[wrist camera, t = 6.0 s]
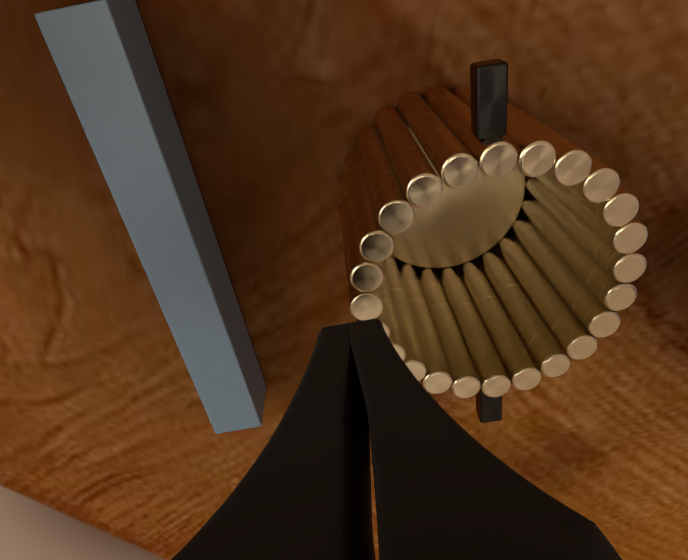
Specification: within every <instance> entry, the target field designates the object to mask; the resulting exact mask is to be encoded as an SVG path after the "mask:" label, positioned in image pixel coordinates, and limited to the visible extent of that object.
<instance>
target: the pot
mask: <svg viewBox="0 0 688 560" xmlns="http://www.w3.org/2000/svg"><path fill="white" fill-rule="evenodd" d="M470 83H471V86H470V85H468V84H461V85H458V86H457V87H455V88H454V89H453V91H452V92H450V91H449V90H448V89H447V88H446V87H444V86H443V85H438V84H437V85H433V86H431V87H429V88H428V89H427V91H426V92H425V94H424V99H423V98H422V97H421V96H420V95H419V94H417V93H414V92H410V93H407V94H405V95H404V96H402V98H401V99H400V101H399V104H398V109H399V112H400V113H399V112H398V110H397V109H395V108H394V107H389V106H388V107H384V108H382V109H380V110H379V111H378V113H377V115H376V118H375V122H376V126H377V127H375V126H365V127H363V128H362V129H361V130H360V131H359V133H358V135H357V142H358V146H359V148H354V149H352V150H350V151H349V152H348V153H347V154H346V156H345V167H346V173H345V174H343V175H342V176H341V177H340V179H339V192H340V203H339V212H340V221H341V230H342V240H343V249H344V258H345V268H346V277H347V286H348V296H349V305H350V312H351V314H352V315H353V316H354V317H355V318H356V319H357V322H358V321H363V320H369V319H375V318H377V319H378V320H380V321H381V322H382V325H383V327H384V330H385V332H386V334H387V336H388V338H389V340H390V341H391V343H392V345H393V346H394V348H395V350H396V351H397V353H398V354H399V356H400V357H401V359H402V360H403V361H404V363H405V364H406V366H407V367H408V368H409V370H410V371H411V372H412V374H413V375H414V376H415V378H416V379H417V380H418V381H421V382H422V386H423V387H424V389H425V390H426V391H427V392H428V393H431V394H441V393H444V392H446V391H447V390H448V389H449V388H450V389H451V392H452V393H453V394H454V395H455V396H456V397H458V398H461V399H467V398H471V397H473V396H475V395H476V411H477V414H478V417H479V420H480V422H481V423H486V422H493V421H500V420H501V419H502V395H504V394H506V393H507V392H508V391H509V389H510V387H511V383H512V385H513V386H514V387H515V388H516V389H518V390H530V389H532V388H534V387H536V386H537V385H538V384H539V383H540V381H541V373H542V374H543V375H545V376H547V377H552V378H553V377H559V376H561V375H563V374H565V373H566V372H567V371H568V369H569V368H570V364H571V361H570V358H572V359H575V360H582V359H586V358H588V357H590V356H591V355H593V354H594V353H595V351H596V349H597V347H598V343H597V340H596V338H595V337H598V338H603V337H607V336H610V335H611V334H613V333H614V332H615V331H616V330H617V329H618V328H619V326H620V323H621V320H620V316H619V315H618V314H617V313H616V311H621V310H624V309H626V308H628V307H629V306H631V305H632V304H633V303H634V301H635V300H636V297H637V291H636V288H635V286H634V285H633V284H632V283H631V282H632V281H635V280H637V279H638V278H639V277H641V276H642V275H643V273H644V272H645V270H646V267H647V262H646V259H645V257H644V256H643V255H642V254H641V253H640V252H638V251H637V250H638V249H640V248H641V247H642V246H643V245H644V244H645V242H646V240H647V237H648V232H647V228H646V227H645V225H644V224H642V223H641V222H640V221H638V220H637V219H636V218H634V217H635V216H636V214H637V212H638V209H639V202H638V199H637V198H636V196H635V195H633V194H632V193H630V192H629V191H627V190H626V189H624V188H623V187H622V186H620V185H619V184H620V178H619V175H618V173H617V172H616V171H615V170H614V169H612V168H611V167H609V166H608V165H606V164H605V163H603V162H602V161H600V160H599V159H597V158H595V157H594V156H592V155H591V154H589V153H588V152H586V151H585V150H583V149H582V148H580V147H578V146H577V145H575V144H574V143H572V142H571V141H569V140H568V139H566V138H565V137H563V136H562V135H560V134H558V133H557V132H555V131H554V130H552V129H551V128H549V127H548V126H546V125H545V124H543V123H542V122H540V121H538V120H537V119H535V118H534V117H532V116H531V115H529V114H528V113H526V112H525V111H523V110H522V109H520V108H518V107H517V106H515V105H514V104H512V103H510V102H509V101H508V63H507V62H505V61H503V60H501V59H494V60H488V61H482V62H476V63H472V64H471V66H470ZM400 114H401V115H400ZM402 117H403V118H402ZM403 119H404V120H405V121H404V120H403ZM525 189H526V190H527V191H525ZM520 210H521V211H520ZM509 229H510V230H509ZM494 246H495V247H494ZM395 258H397V260H396V259H395ZM476 258H477V260H476ZM478 262H479V263H478ZM479 264H480V265H479ZM414 266H415V267H414ZM455 266H456V267H455ZM480 266H481V267H480ZM434 268H435V270H434ZM483 271H484V272H483ZM484 273H485V274H484ZM487 278H488V279H487ZM488 280H489V281H488ZM491 285H492V286H491ZM492 287H493V288H492ZM495 292H496V293H495ZM496 294H497V295H496ZM499 299H500V300H499ZM500 301H501V302H500ZM503 306H504V307H503ZM504 308H505V309H504ZM505 310H506V311H505ZM507 313H508V314H507ZM508 315H509V316H508ZM509 317H510V318H509ZM511 320H512V321H511ZM512 322H513V323H512ZM513 324H514V325H513ZM515 327H516V328H515ZM516 329H517V330H516ZM517 331H518V332H517ZM519 334H520V335H519ZM520 336H521V337H520ZM594 336H595V337H594ZM521 338H522V339H521ZM523 341H524V342H523ZM524 343H525V344H524ZM525 345H526V346H525ZM527 348H528V349H527ZM528 350H529V351H528ZM529 352H530V353H529ZM531 355H532V356H531ZM532 357H533V358H532ZM569 357H570V358H569ZM533 359H534V360H533ZM535 362H536V363H535ZM536 364H537V365H536ZM537 366H538V367H537ZM539 369H540V370H539ZM540 371H541V372H540Z"/></svg>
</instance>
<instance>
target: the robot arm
mask: <svg viewBox="0 0 688 560" xmlns="http://www.w3.org/2000/svg"><path fill="white" fill-rule="evenodd" d="M369 431H370V438H369ZM370 441H371V451H372V463H373V474H374V486H375V499H376V512H377V527H378V543H379V559H380V560H622V559H621V558H620V556H619V555H618V553H617V552H616V551H615V549H614V548H613V546H612V545H611V544H610V542H609V541H608V540H607V538H606V537H605V536H604V535H603V533H602V532H601V531H600V529H599V528H598V527H597V526H596V524H595V523H594V522H592V521H590V520H589V519H587V518H585V517H584V516H582V515H580V514H579V513H577V512H575V511H574V510H572V509H570V508H569V507H567V506H565V505H564V504H562V503H561V502H559V501H557V500H556V499H554V498H553V497H551V496H550V495H548V494H547V493H545V492H543V491H542V490H541V489H539V488H538V487H536V486H535V485H533V484H532V483H530V482H529V481H528V480H526V479H525V478H523V477H522V476H520V475H519V474H518V473H516V472H515V471H514V470H512V469H511V468H510V467H509V466H507V465H506V464H505V463H503V462H502V461H501V460H500V459H498V458H497V457H496V456H495V455H493V454H492V453H491V452H489V451H488V450H487V449H486V448H484V447H483V446H482V445H481V444H479V443H478V442H477V441H476V440H475V439H474V438H473V437H472V436H470V435H469V434H468V433H467V432H466V431H465V430H464V429H463V428H462V427H461V426H459V425H458V424H457V423H456V422H455V421H454V420H453V419H452V418H451V417H450V416H449V415H448V414H447V413H446V412H445V411H444V410H443V409H442V408H441V407H440V405H439V404H438V403H437V402H436V401H435V400H434V399H433V398H432V397H431V395H430V394H429V393H428V392H427V391H426V390H425V389H424V387H423V386H422V385H421V384H420V383H419V381H418V380H417V379H416V378H415V376H414V375H413V374H412V372H411V371H410V370H409V368H408V367H407V366H406V364H405V363H404V361H403V360H402V359H401V357H400V356H399V354H398V353H397V351H396V350H395V348H394V346H393V345H392V343H391V341H390V340H389V338H388V336H387V334H386V332H385V330H384V327H383V325H382V322H381V321H380V320H378V319H377V318H375V319H369V320H363V321H358V322H352V323H346V324H340V325H335V326H329V327H323V328H322V329H321V331H320V332H319V335H318V339H317V342H316V345H315V348H314V351H313V353H312V356H311V359H310V361H309V364H308V366H307V369H306V371H305V373H304V376H303V378H302V380H301V382H300V384H299V387H298V389H297V391H296V393H295V395H294V397H293V399H292V401H291V403H290V405H289V407H288V409H287V410H286V412H285V414H284V416H283V418H282V420H281V422H280V423H279V425H278V427H277V429H276V430H275V432H274V434H273V435H272V437H271V439H270V440H269V442H268V443H267V445H266V446H265V448H264V449H263V451H262V452H261V454H260V455H259V457H258V458H257V460H256V461H255V463H254V464H253V465H252V467H251V468H250V470H249V471H248V472H247V474H246V475H245V476H244V478H243V479H242V480H241V482H240V483H239V485H238V486H237V487H236V488H235V490H234V491H233V492H232V493H231V495H230V496H229V497H228V498H227V500H226V501H225V502H224V503H223V504H222V506H221V507H220V508H219V509H218V510H217V511H216V512H215V513H214V515H213V516H212V517H211V518H210V519H209V520H208V521H207V523H206V524H205V525H204V526H203V527H202V528H201V529H200V531H199V532H198V533H197V534H196V535H195V536H194V537H193V538H192V539H191V540H190V541H189V542H188V544H187V545H186V546H185V547H184V548H183V549H182V550H181V551H180V552H178V553H177V554H176V555H175V556H174V557H173V558H172V559H171V560H376V559H375V551H374V543H373V529H372V504H371V470H370Z"/></svg>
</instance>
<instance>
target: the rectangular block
mask: <svg viewBox="0 0 688 560" xmlns="http://www.w3.org/2000/svg"><path fill="white" fill-rule="evenodd" d="M34 16H35V18H36V21H37V23H38V25H39V28H40V30H41V32H42V34H43V37H44V39H45V41H46V44H47V46H48V48H49V51H50V53H51V55H52V58H53V60H54V62H55V64H56V67H57V69H58V71H59V74H60V76H61V78H62V81H63V83H64V85H65V87H66V90H67V92H68V94H69V97H70V99H71V101H72V104H73V106H74V108H75V111H76V113H77V115H78V117H79V120H80V122H81V124H82V127H83V129H84V131H85V134H86V136H87V138H88V141H89V143H90V145H91V147H92V150H93V152H94V154H95V157H96V159H97V161H98V164H99V166H100V168H101V171H102V173H103V175H104V177H105V180H106V182H107V184H108V187H109V189H110V191H111V194H112V196H113V198H114V200H115V203H116V205H117V207H118V210H119V212H120V214H121V217H122V219H123V221H124V224H125V226H126V228H127V230H128V233H129V235H130V237H131V240H132V242H133V244H134V247H135V249H136V251H137V254H138V256H139V258H140V260H141V263H142V265H143V267H144V270H145V272H146V274H147V277H148V279H149V281H150V283H151V286H152V288H153V290H154V293H155V295H156V297H157V300H158V302H159V304H160V307H161V309H162V311H163V313H164V316H165V318H166V320H167V323H168V325H169V327H170V330H171V332H172V334H173V337H174V339H175V341H176V343H177V346H178V348H179V350H180V353H181V355H182V357H183V360H184V362H185V364H186V366H187V369H188V371H189V373H190V376H191V378H192V380H193V383H194V385H195V387H196V390H197V392H198V394H199V396H200V399H201V401H202V403H203V406H204V408H205V410H206V413H207V415H208V417H209V420H210V422H211V424H212V426H213V429H214V431H215V433H216V434H218V433H224V432H230V431H236V430H242V429H248V428H254V427H260V426H261V425H262V417H263V408H264V400H265V391H266V384H265V381H264V378H263V375H262V372H261V369H260V366H259V363H258V360H257V357H256V354H255V352H254V349H253V346H252V343H251V340H250V337H249V334H248V331H247V328H246V325H245V322H244V319H243V316H242V313H241V310H240V307H239V304H238V301H237V298H236V296H235V293H234V290H233V287H232V284H231V281H230V278H229V275H228V272H227V269H226V266H225V263H224V260H223V257H222V254H221V251H220V248H219V245H218V242H217V240H216V237H215V234H214V231H213V228H212V225H211V222H210V219H209V216H208V213H207V210H206V207H205V204H204V201H203V198H202V195H201V192H200V189H199V187H198V184H197V181H196V178H195V175H194V172H193V169H192V166H191V163H190V160H189V157H188V154H187V151H186V148H185V145H184V142H183V139H182V136H181V133H180V131H179V128H178V125H177V122H176V119H175V116H174V113H173V110H172V107H171V104H170V101H169V98H168V95H167V92H166V89H165V86H164V83H163V80H162V77H161V75H160V72H159V69H158V66H157V63H156V60H155V57H154V54H153V51H152V48H151V45H150V42H149V39H148V36H147V33H146V30H145V27H144V24H143V22H142V19H141V16H140V13H139V10H138V7H137V4H136V1H135V0H97V1H92V2H88V3H83V4H78V5H73V6H68V7H64V8H59V9H54V10H49V11H44V12H40V13H35V14H34Z"/></svg>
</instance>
